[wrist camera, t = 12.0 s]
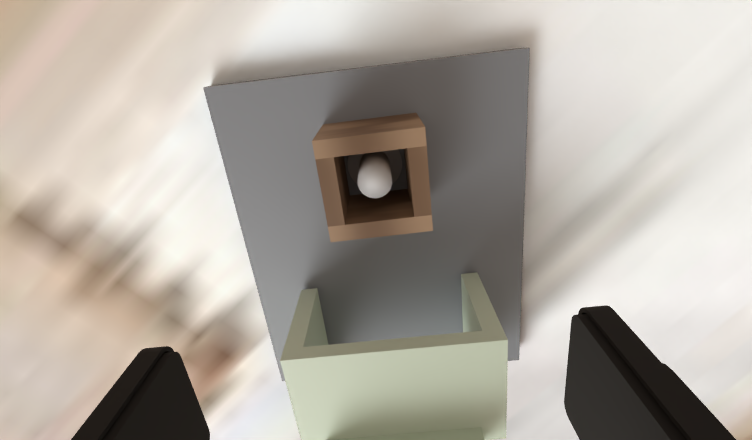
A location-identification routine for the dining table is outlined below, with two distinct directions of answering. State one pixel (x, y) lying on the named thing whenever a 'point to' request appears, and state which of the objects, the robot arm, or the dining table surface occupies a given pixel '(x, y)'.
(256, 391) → the dining table surface
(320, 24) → the dining table surface
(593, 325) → the robot arm
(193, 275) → the dining table surface
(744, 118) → the dining table surface
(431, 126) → the board
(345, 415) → the cover
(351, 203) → the wooden crate
